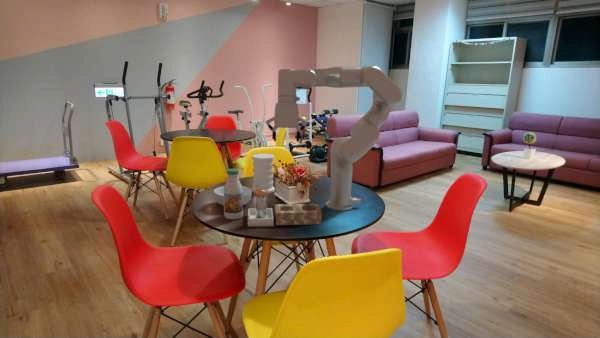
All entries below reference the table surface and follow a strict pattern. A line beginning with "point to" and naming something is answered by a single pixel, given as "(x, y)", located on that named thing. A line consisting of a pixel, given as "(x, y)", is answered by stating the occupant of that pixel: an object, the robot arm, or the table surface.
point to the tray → (260, 222)
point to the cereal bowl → (220, 195)
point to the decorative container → (263, 172)
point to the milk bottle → (233, 196)
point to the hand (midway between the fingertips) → (286, 141)
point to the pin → (260, 204)
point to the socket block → (297, 214)
